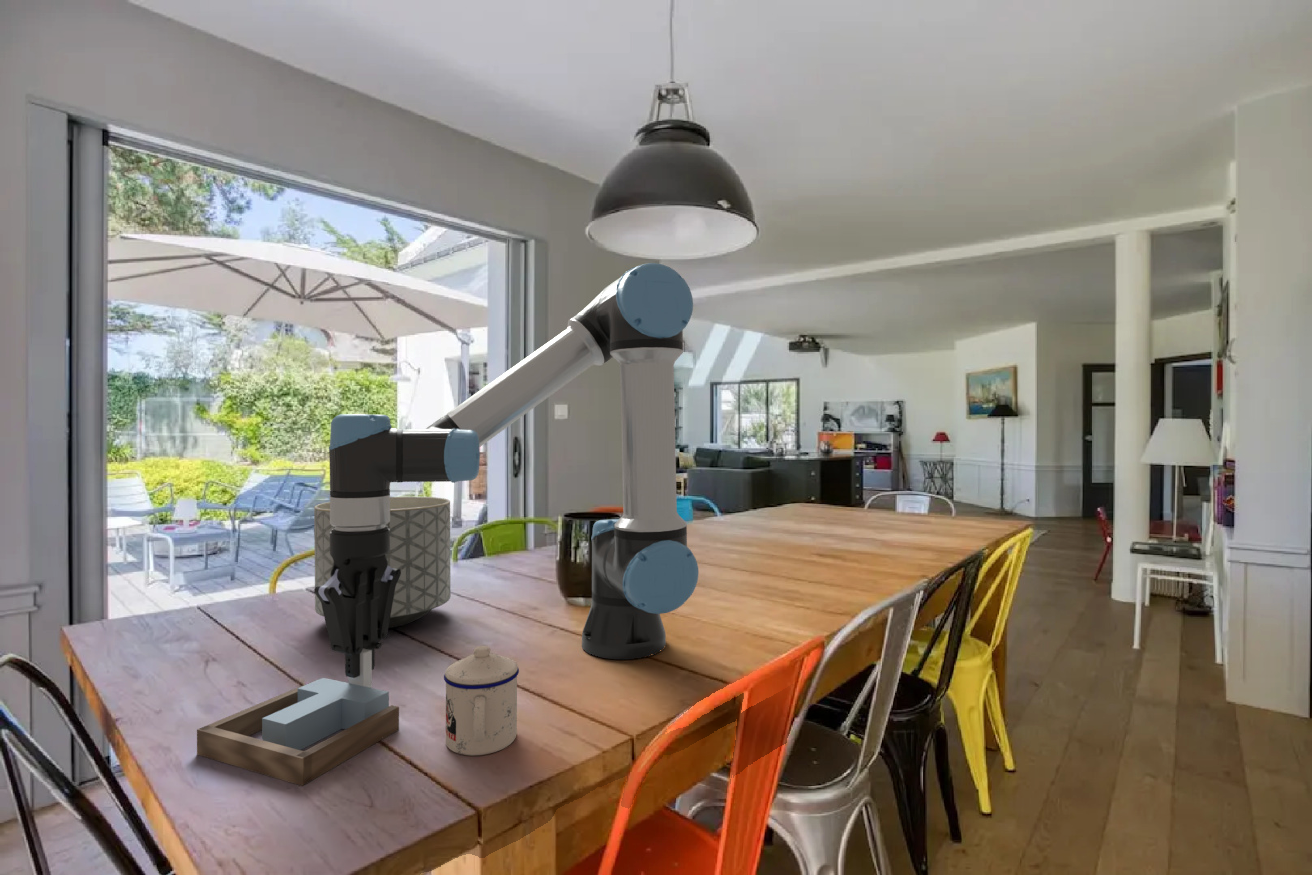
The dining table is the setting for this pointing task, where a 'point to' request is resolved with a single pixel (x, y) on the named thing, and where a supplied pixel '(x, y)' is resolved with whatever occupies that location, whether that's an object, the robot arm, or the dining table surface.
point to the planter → (402, 554)
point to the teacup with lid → (481, 703)
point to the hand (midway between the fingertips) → (360, 696)
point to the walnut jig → (282, 762)
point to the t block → (322, 712)
